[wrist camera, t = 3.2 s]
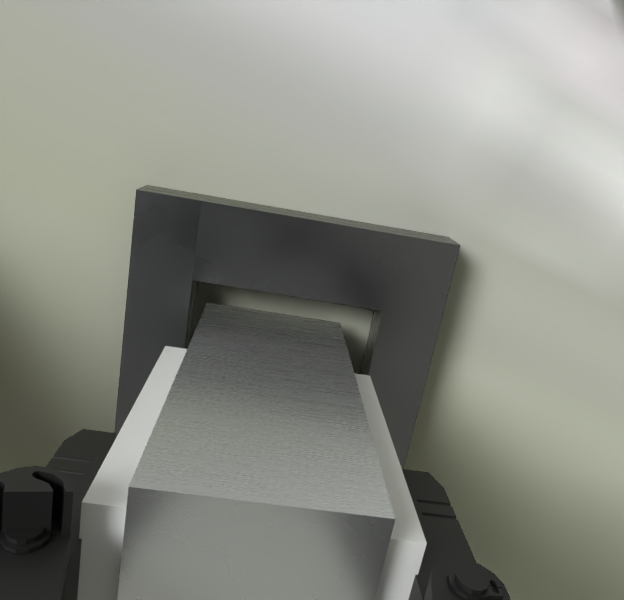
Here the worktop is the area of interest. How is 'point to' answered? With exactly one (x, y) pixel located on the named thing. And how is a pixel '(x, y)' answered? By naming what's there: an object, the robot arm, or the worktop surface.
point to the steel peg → (258, 471)
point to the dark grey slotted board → (285, 285)
